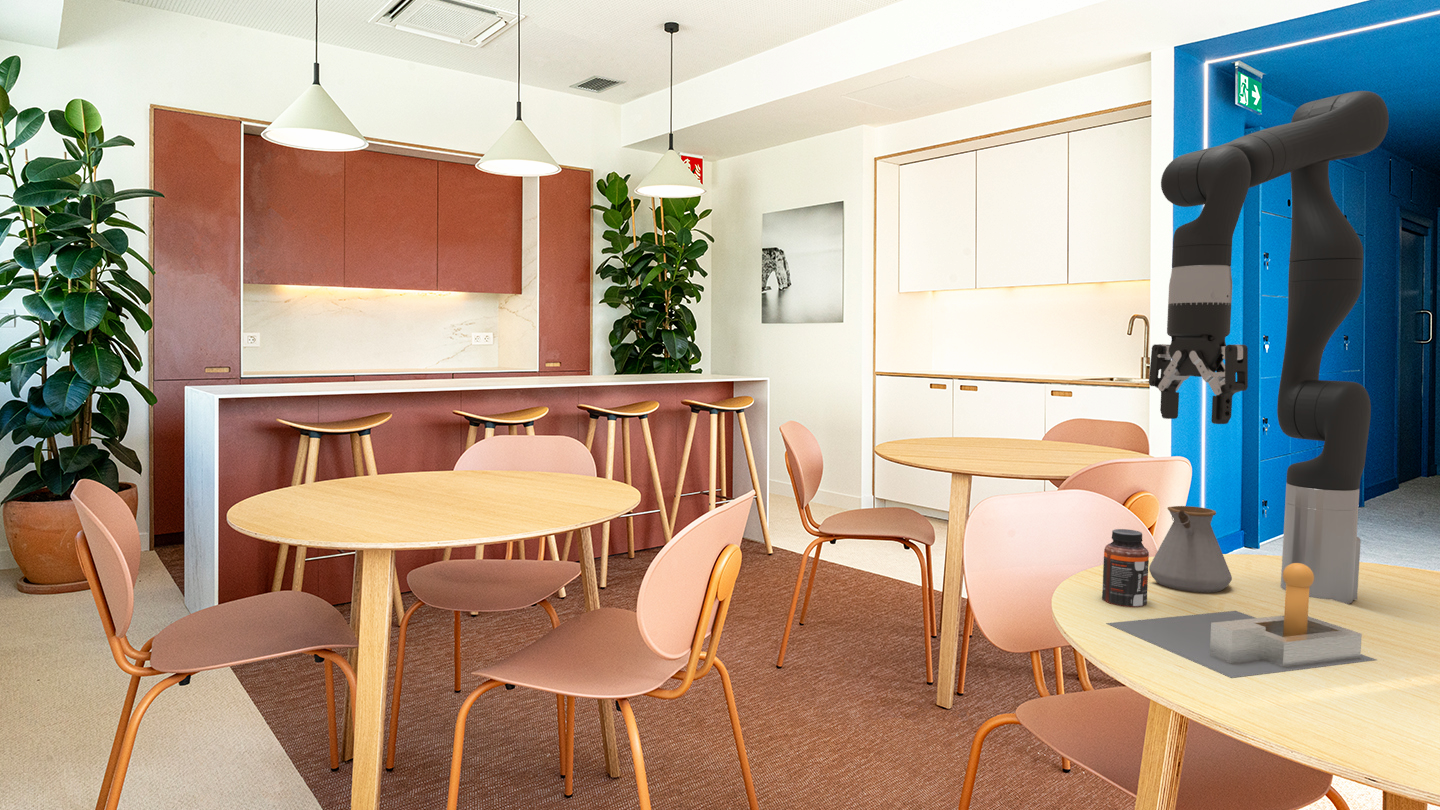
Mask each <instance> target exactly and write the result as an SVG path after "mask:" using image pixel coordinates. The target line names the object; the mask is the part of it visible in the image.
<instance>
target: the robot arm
mask: <svg viewBox="0 0 1440 810" xmlns="http://www.w3.org/2000/svg"><path fill="white" fill-rule="evenodd" d="M1386 104H1387V103H1385V101H1384V99H1383V98H1382V97H1381V96H1380V95H1379V94H1377V93H1376V92H1373V91H1368V90H1357V91H1351V92H1346V93H1342V94H1337V95H1332V96H1328V97H1325V98H1319V99H1316V100H1312V101H1309V102H1306V103H1302V105H1300V106H1298V108H1297V109H1295V112H1293V115H1292V118H1291V122H1289V123H1284V124H1279V125H1275V126H1272V127H1268V128H1264V129H1261V130H1257V131H1254V132H1252V133H1249V134H1245V135H1243V136H1240V137H1238V138H1236V139H1233V140H1232V141H1230V142H1226V143H1223V144H1219V145H1216V146H1211V147H1207V148H1205V149H1204V148H1203V149H1199V150H1196V151H1192V152H1188V153H1185V154H1181V155H1180V156H1177V157H1175V158H1174V159H1173V160H1172V161H1170V162H1169V164H1167V166H1166V167H1165V169H1164V171H1163V173H1162V175H1161V179H1160V187H1161V188H1160V189H1161V192H1162V194H1163V195H1164V198H1165V199H1166V200H1167V201H1168V202H1169V203H1171V204H1173V205H1175V206H1178V207H1183V208H1187V207H1188V208H1190V207H1197V206H1203V208H1202V210H1201V211H1200V214H1199V216H1198V217H1196V218H1195V219H1194V220H1191V221H1190V222H1187V223H1184V224H1181V225H1180V226H1179V227H1177V228H1176V229H1175V231H1174V234H1173V239H1172V255H1171V257H1172V259H1171V272H1170V277H1169V278H1170V279H1169V284H1168V299H1167V302H1168V303H1167V321H1166V325H1167V327H1166V334H1167V335H1168V336H1169V337H1171V338H1170V339H1171V342H1170V343H1169V344H1164V343H1162V344H1160V343H1159V344H1155V343H1154V344H1152V346H1151V352H1150V363H1149V365H1150V366H1149V375H1148V384H1149V386H1150V387H1155V388H1157V389H1158V390H1159V392H1160V407H1159V408H1160V411H1159V412H1160V413H1161V417H1162V419H1165V420H1171V419H1172V420H1173V419H1174V420H1175V419H1178V417H1179V405H1180V404H1179V403H1180V393H1179V391H1178V390H1179V389H1180V388H1181V386H1182V384H1183V382H1185V381H1187V380H1188V379H1189V378H1190V377H1200V378H1201V377H1202V378H1201V379H1202V380H1203V381H1204V382H1205V383H1208V385H1209V386H1210V388H1211V391H1212V393H1214V395H1212V397H1211V400H1212V401H1211V423H1212V424H1214V425H1215V424H1216V425H1227V424H1228V423H1229V421H1230V419H1231V418H1232V410H1233V409H1232V408H1233V396H1234V395H1235V394H1236V393H1239V392H1246V391H1247V389H1248V387H1249V385H1248V384H1249V381H1248V379H1249V378H1248V377H1249V374H1248V373H1249V371H1248V370H1249V368H1248V367H1249V365H1248V363H1249V362H1248V361H1249V360H1248V359H1249V358H1248V357H1249V356H1248V354H1249V353H1248V351H1249V350H1248V349H1249V348H1248V346H1247V345H1246V344H1227V343H1226V337H1228V336H1229V335H1230V333H1231V323H1232V321H1231V320H1232V319H1231V318H1232V300H1233V299H1232V296H1233V279H1232V257H1233V256H1232V252H1233V238H1234V233H1235V231H1236V230H1235V229H1236V226H1237V223H1238V221H1239V219H1240V215H1241V212H1242V209H1243V207H1244V203H1245V201H1246V198H1247V195H1248V192H1249V189H1250V188H1253V187H1256V186H1258V185H1259V186H1260V185H1262V184H1265V183H1266V182H1269V181H1272V180H1274V179H1277V178H1279V177H1281V176H1284V175H1287V174H1288V173H1289V174H1290V185H1291V186H1290V187H1291V231H1290V232H1291V233H1290V235H1291V236H1290V248H1289V249H1290V250H1289V259H1288V260H1289V261H1288V262H1289V263H1288V283H1287V284H1288V285H1287V286H1288V287H1287V291H1288V292H1287V293H1288V294H1287V295H1288V296H1287V302H1288V303H1287V321H1286V322H1287V323H1286V337H1285V347H1284V353H1283V361H1282V367H1281V374H1280V380H1279V386H1278V395H1277V406H1276V407H1277V408H1276V413H1277V421H1278V424H1279V427H1280V429H1281V431H1282V433H1283V434H1285V435H1286V436H1288V437H1289V438H1291V439H1292V438H1294V439H1299V440H1300V439H1301V440H1308V441H1319V442H1323V448H1322V451H1321V453H1320V454H1319V455H1318V456H1316V457H1314V458H1312V459H1309V460H1304V461H1299V462H1296V463H1292V464H1290V465H1289V466H1288V468H1287V470H1286V483H1285V485H1286V486H1285V501H1284V504H1285V505H1284V522H1283V537H1282V538H1283V540H1282V555H1281V569H1280V570H1281V575H1280V588H1281V589H1282V590H1284V591H1286V583H1285V581H1284V579H1283V571H1284V569H1285V568H1286V567H1287V566H1288V565H1290V564H1293V563H1301V564H1304V565H1306V566H1308V567H1309V568H1310V569H1311V570H1312V572H1313V574H1314V581H1313V583H1312V585H1311V586H1310V588H1309V598H1313V599H1314V598H1315V599H1321V600H1332V601H1335V602H1339V603H1343V604H1346V605H1350V604H1351V603H1353V601H1354V600H1355V601H1356V600H1358V590H1359V577H1360V576H1359V575H1360V573H1359V572H1360V556H1361V543H1362V542H1361V538H1360V537H1359V536H1357V535H1358V521H1359V503H1360V485H1361V479H1362V476H1363V471H1364V470H1365V464H1366V456H1367V447H1368V440H1369V434H1370V433H1369V431H1370V425H1371V413H1372V411H1371V410H1372V404H1371V398H1370V396H1369V393H1368V391H1367V390H1366V387H1364V386H1363V384H1361V383H1358V382H1355V381H1345V380H1323V379H1321V380H1319V379H1320V368H1321V363H1322V358H1323V353H1324V351H1325V348H1326V346H1327V344H1328V342H1329V341H1330V339H1331V337H1332V336H1333V335H1334V334H1335V332H1336V330H1337V329H1338V328H1339V326H1340V325H1341V324H1342V323H1343V321H1344V320H1345V319H1346V317H1347V316H1348V315H1349V314H1350V312H1351V311H1352V310H1353V308H1354V306H1355V304H1357V301H1358V299H1359V298H1360V295H1361V292H1362V286H1363V273H1364V272H1363V270H1364V247H1363V243H1362V241H1361V238H1360V237H1359V235H1358V234H1357V231H1356V230H1355V229H1354V227H1353V226H1352V225H1351V223H1350V222H1349V220H1348V218H1346V216H1345V214H1344V213H1343V212H1342V210H1341V209H1340V207H1339V205H1337V202H1336V201H1335V199H1334V196H1333V194H1332V191H1331V185H1330V177H1329V169H1330V168H1329V164H1330V162H1331V161H1336V160H1342V159H1347V158H1349V159H1350V158H1354V157H1359V156H1361V155H1365V154H1367V153H1369V152H1372V151H1373V150H1375V149H1377V148H1378V147H1379V146H1380V145H1381V144H1382V142H1383V141H1384V139H1385V137H1386V135H1387V133H1388V128H1389V119H1390V117H1389V116H1390V115H1389V111H1388V107H1387V105H1386ZM1159 374H1160V376H1159Z"/></svg>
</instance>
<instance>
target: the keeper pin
mask: <svg viewBox="0 0 1440 810" xmlns="http://www.w3.org/2000/svg"><path fill="white" fill-rule="evenodd" d="M1283 579H1284V581H1285V583H1286V590H1285V596H1284V597H1285V598H1284V613H1283V614H1284V615H1283V616H1284V630H1283V637H1287V636H1296V635H1305V634H1307V623H1308V616H1309V605H1310V604H1309V603H1310V597H1309V588H1310V586H1311V585H1312V583H1313V581H1314V574H1313V572H1312V570H1311V569H1310V568H1309V567H1308V566H1306V565H1304V564H1301V563H1293V564H1290V565H1288V566H1287V567H1286V568H1285V569H1284V571H1283Z"/></svg>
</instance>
